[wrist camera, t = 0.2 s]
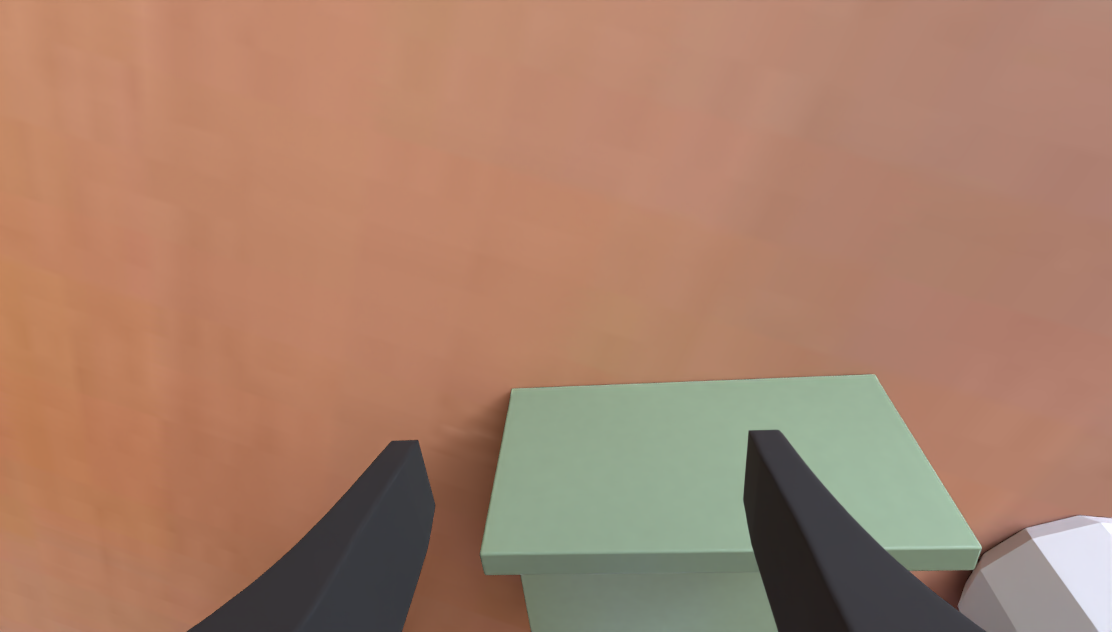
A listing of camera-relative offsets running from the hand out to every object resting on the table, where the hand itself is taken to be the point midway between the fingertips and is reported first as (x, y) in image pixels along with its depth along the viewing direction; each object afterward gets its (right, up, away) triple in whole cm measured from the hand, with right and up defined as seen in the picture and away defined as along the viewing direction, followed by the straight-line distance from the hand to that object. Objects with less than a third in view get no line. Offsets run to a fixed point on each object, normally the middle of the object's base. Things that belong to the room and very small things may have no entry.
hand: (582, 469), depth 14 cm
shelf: (+5, -4, +14) cm, 15 cm away
